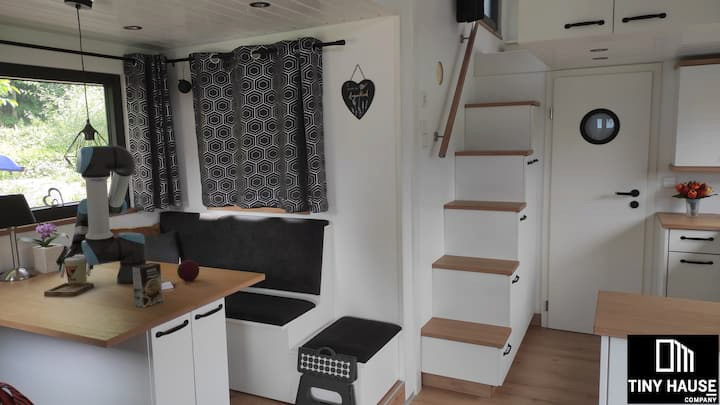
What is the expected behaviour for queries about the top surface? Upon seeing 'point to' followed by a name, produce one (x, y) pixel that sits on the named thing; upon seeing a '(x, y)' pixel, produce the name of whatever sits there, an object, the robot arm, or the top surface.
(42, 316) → the top surface
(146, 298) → the coffee box
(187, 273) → the decorative ball
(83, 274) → the coffee cup
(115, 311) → the top surface
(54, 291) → the coaster tray
